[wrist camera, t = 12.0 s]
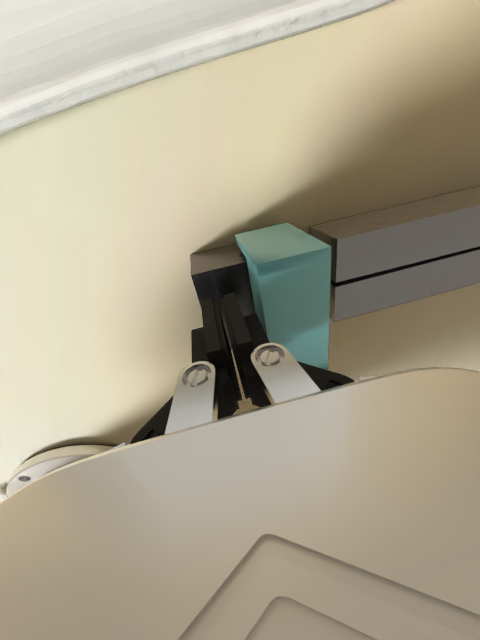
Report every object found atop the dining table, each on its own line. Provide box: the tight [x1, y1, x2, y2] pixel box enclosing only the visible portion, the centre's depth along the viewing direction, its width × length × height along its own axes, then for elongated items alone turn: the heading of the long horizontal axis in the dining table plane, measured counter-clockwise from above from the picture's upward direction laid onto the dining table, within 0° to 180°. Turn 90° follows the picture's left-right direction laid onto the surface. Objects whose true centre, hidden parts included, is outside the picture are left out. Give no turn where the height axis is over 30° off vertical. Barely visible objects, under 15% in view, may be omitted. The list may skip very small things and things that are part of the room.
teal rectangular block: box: [235, 222, 331, 370], centre depth 13 cm, size 3×7×5 cm, turn 9°
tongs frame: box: [190, 186, 480, 349], centre depth 15 cm, size 29×6×3 cm, turn 100°
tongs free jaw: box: [329, 246, 480, 322], centre depth 16 cm, size 22×3×3 cm, turn 100°
